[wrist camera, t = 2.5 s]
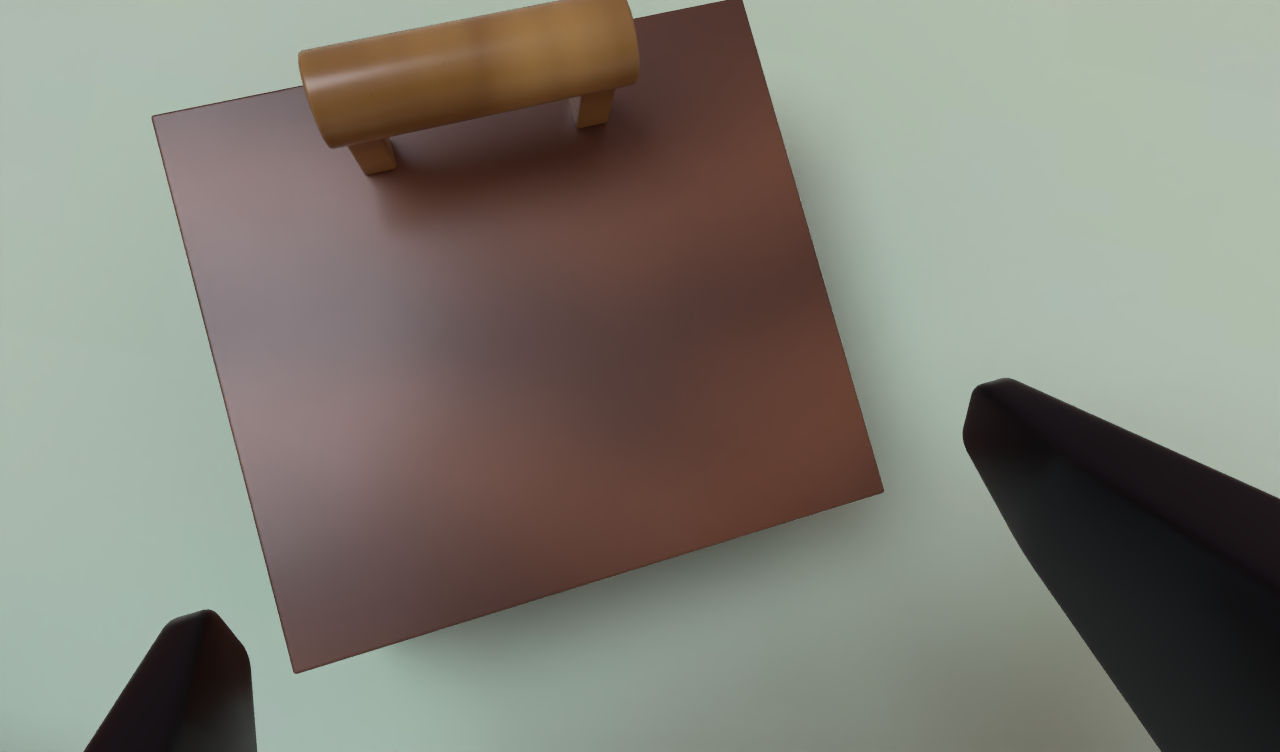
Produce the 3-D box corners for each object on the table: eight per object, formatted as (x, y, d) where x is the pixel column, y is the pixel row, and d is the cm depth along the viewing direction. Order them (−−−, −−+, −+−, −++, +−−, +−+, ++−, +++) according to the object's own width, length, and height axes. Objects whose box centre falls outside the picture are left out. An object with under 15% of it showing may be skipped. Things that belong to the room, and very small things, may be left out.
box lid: (164, 128, 17) (35, 16, 12) (734, 12, 19) (798, -122, 14) (303, 665, 16) (219, 748, 12) (872, 490, 18) (983, 506, 14)
